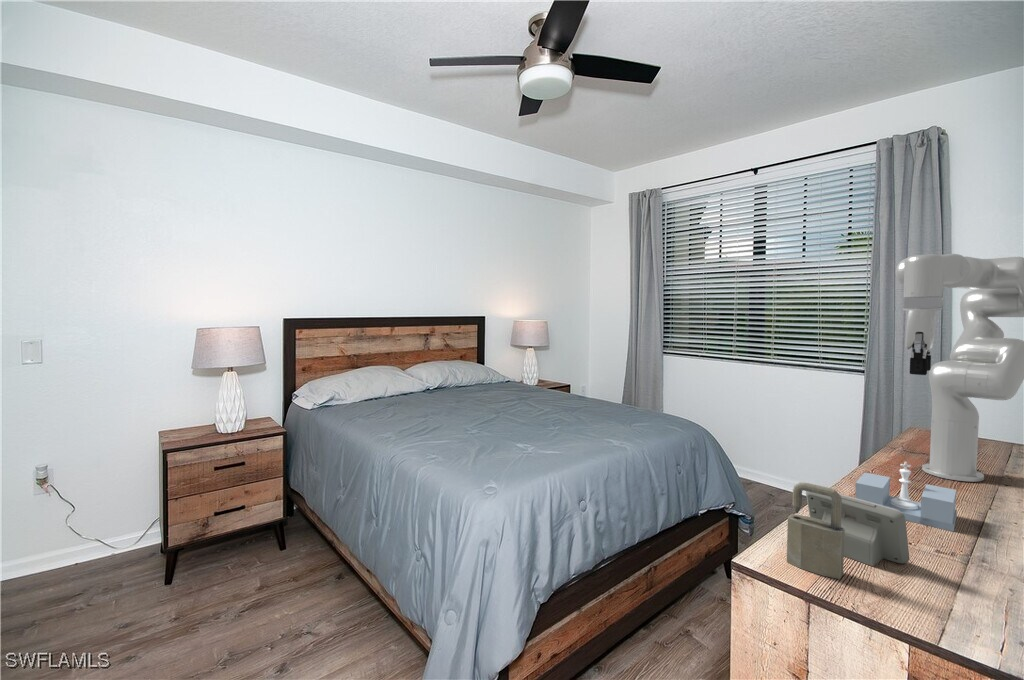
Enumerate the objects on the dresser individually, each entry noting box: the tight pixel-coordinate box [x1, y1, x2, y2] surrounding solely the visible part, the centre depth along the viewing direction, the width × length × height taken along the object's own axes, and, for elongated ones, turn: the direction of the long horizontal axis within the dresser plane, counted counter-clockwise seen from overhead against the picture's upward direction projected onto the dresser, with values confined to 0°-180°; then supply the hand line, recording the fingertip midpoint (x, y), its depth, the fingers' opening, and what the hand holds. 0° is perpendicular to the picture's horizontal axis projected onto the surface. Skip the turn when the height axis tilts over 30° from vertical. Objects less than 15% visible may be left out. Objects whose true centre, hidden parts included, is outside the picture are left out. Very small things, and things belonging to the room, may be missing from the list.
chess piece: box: [890, 461, 918, 510], centre depth 107 cm, size 5×5×10 cm
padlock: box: [786, 481, 845, 580], centre depth 84 cm, size 4×8×15 cm, turn 44°
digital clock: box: [805, 491, 910, 567], centre depth 90 cm, size 16×9×11 cm, turn 23°
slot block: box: [854, 472, 958, 533], centre depth 107 cm, size 10×17×6 cm, turn 44°
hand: (920, 372), depth 120 cm, fingers open, 9 cm apart
